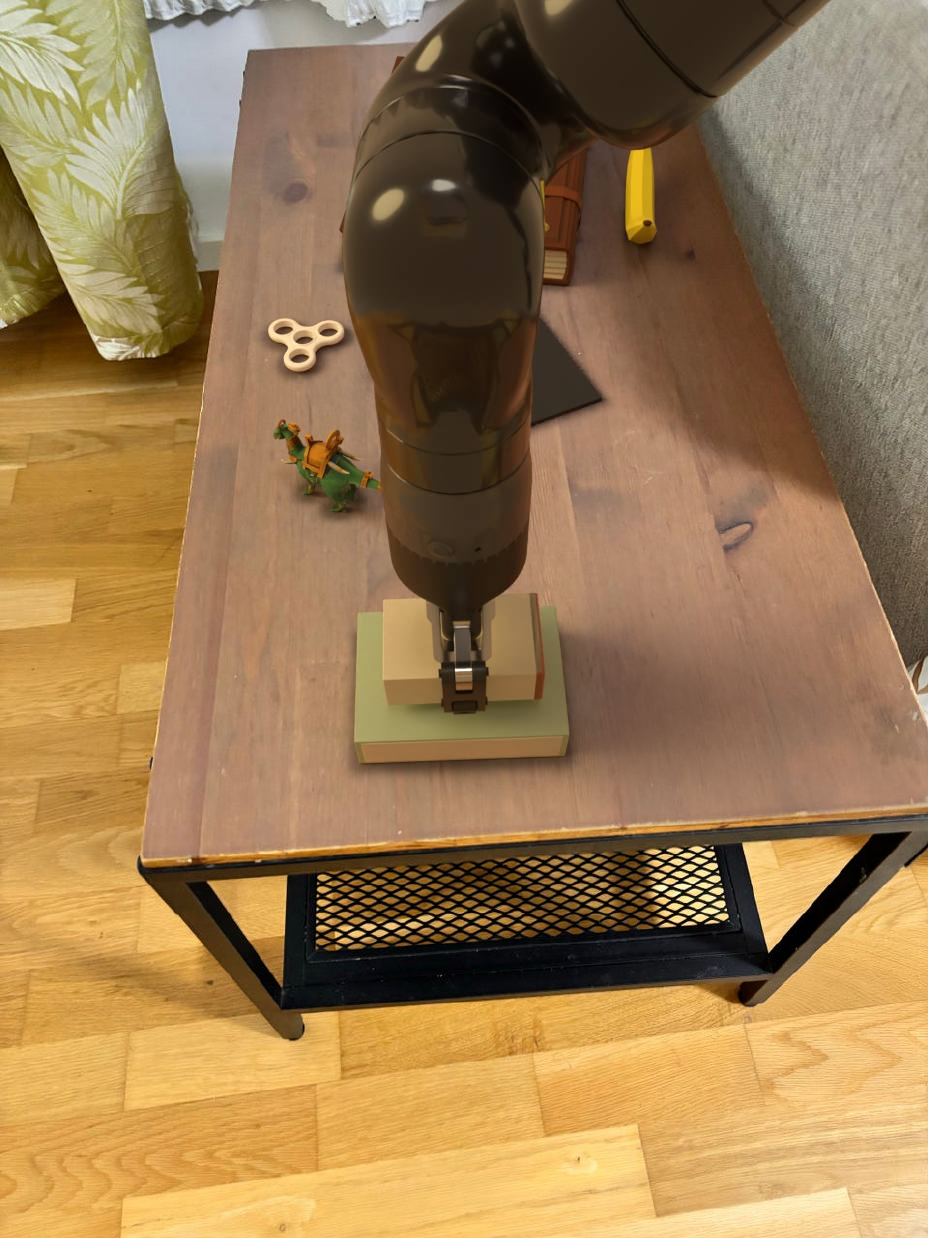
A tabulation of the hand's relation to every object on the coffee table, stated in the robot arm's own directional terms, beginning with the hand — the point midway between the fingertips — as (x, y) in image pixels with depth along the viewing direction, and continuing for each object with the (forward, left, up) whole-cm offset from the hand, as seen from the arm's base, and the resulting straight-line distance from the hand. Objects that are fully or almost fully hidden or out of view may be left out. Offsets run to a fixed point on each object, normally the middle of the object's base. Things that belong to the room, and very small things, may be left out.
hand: (462, 661), depth 61 cm
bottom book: (0, 0, -5) cm, 5 cm away
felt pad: (-6, -33, -5) cm, 34 cm away
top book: (0, 0, 0) cm, 0 cm away
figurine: (+9, -18, -5) cm, 21 cm away
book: (-4, -61, -5) cm, 61 cm away
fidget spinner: (+13, -36, -5) cm, 39 cm away
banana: (-20, -54, -5) cm, 57 cm away
